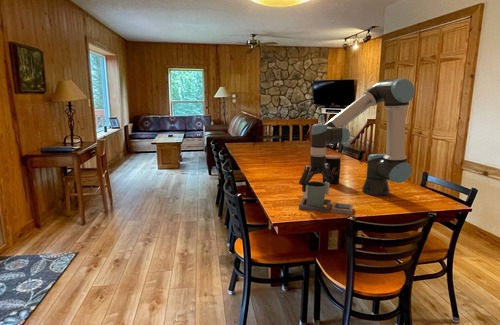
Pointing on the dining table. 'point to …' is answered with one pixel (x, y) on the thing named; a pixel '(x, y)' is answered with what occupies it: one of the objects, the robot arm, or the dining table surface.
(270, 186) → the dining table surface
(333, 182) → the coffee jar
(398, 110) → the robot arm
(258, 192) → the dining table surface
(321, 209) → the square hollow frame
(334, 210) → the grey diamond-shaped open frame
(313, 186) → the grey cup
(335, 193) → the dining table surface
